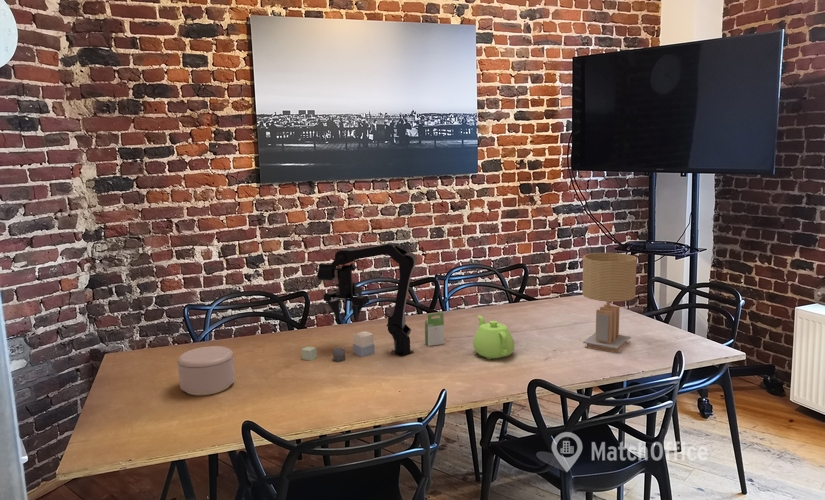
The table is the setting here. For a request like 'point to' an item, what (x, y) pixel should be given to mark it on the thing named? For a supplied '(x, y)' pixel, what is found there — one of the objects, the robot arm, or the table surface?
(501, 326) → the teapot
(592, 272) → the desk lamp
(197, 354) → the container
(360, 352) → the tower base
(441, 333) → the ink box
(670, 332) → the table surface
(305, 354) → the sage block
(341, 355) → the dark grey cylinder
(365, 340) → the tower top
